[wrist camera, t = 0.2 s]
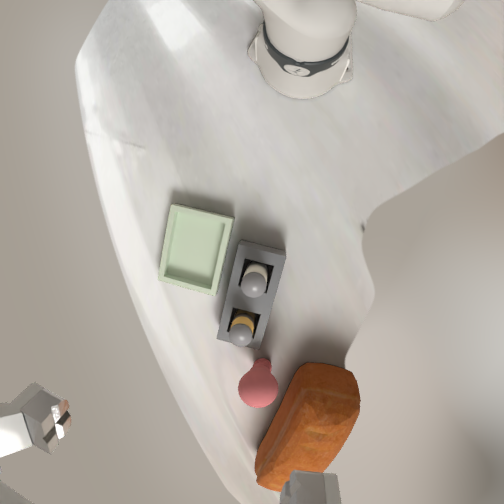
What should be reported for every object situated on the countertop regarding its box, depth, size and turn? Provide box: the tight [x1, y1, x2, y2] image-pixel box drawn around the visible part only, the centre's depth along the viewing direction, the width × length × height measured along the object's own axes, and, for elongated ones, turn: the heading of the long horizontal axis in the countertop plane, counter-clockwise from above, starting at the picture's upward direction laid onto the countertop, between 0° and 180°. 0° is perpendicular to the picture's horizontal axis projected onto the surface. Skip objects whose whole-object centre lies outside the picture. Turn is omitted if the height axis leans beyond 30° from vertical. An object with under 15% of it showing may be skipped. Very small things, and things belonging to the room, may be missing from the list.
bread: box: [255, 363, 361, 492], centre depth 56 cm, size 14×33×16 cm, turn 163°
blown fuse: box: [229, 308, 256, 347], centre depth 54 cm, size 4×4×9 cm
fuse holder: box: [217, 240, 286, 350], centre depth 55 cm, size 18×8×4 cm, turn 166°
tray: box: [158, 203, 235, 296], centre depth 55 cm, size 14×11×2 cm
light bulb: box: [238, 358, 278, 408], centre depth 55 cm, size 7×7×12 cm
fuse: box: [241, 260, 268, 298], centre depth 52 cm, size 4×4×9 cm
